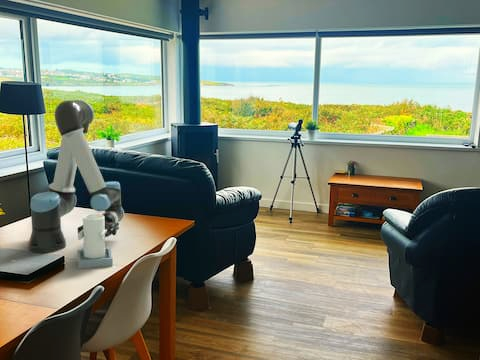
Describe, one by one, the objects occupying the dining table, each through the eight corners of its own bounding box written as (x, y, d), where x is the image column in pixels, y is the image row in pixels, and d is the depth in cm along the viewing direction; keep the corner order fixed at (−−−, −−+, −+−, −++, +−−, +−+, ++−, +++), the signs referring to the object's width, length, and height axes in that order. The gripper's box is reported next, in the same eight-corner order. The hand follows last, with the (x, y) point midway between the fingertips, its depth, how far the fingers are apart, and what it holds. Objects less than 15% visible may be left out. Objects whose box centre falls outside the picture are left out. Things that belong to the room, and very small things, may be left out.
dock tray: (78, 268, 180) (77, 261, 180) (77, 257, 192) (77, 250, 192) (112, 265, 185) (112, 258, 184) (110, 254, 197) (110, 247, 196)
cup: (97, 250, 194) (96, 213, 191) (109, 254, 189) (108, 216, 186) (80, 254, 187) (78, 216, 184) (91, 260, 182) (90, 220, 179)
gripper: (131, 230, 205) (117, 247, 182) (83, 228, 205) (64, 245, 182) (130, 213, 203) (116, 228, 181) (83, 212, 203) (63, 227, 181)
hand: (90, 237), depth 182 cm, fingers closed on cup, 8 cm apart
